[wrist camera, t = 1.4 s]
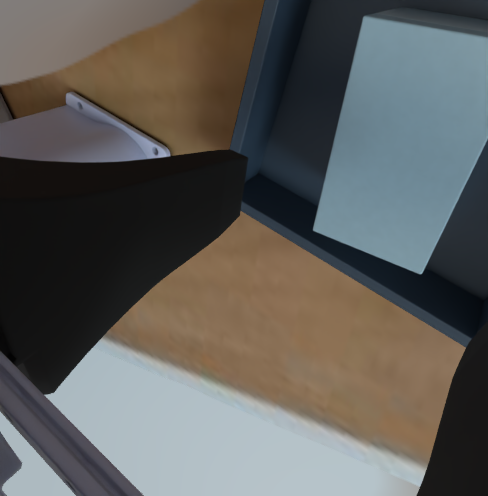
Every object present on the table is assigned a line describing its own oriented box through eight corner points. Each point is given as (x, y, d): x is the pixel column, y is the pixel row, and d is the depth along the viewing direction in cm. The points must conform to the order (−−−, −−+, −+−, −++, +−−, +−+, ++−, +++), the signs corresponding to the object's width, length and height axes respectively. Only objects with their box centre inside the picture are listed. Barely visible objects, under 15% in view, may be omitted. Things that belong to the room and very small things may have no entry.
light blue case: (348, 191, 20) (312, 231, 17) (400, 6, 15) (362, 15, 12) (442, 224, 18) (421, 275, 15) (537, 27, 13) (533, 44, 10)
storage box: (253, 172, 23) (217, 196, 21) (342, -129, 14) (298, -151, 12) (489, 307, 19) (480, 356, 17) (806, 11, 11) (885, 23, 8)
